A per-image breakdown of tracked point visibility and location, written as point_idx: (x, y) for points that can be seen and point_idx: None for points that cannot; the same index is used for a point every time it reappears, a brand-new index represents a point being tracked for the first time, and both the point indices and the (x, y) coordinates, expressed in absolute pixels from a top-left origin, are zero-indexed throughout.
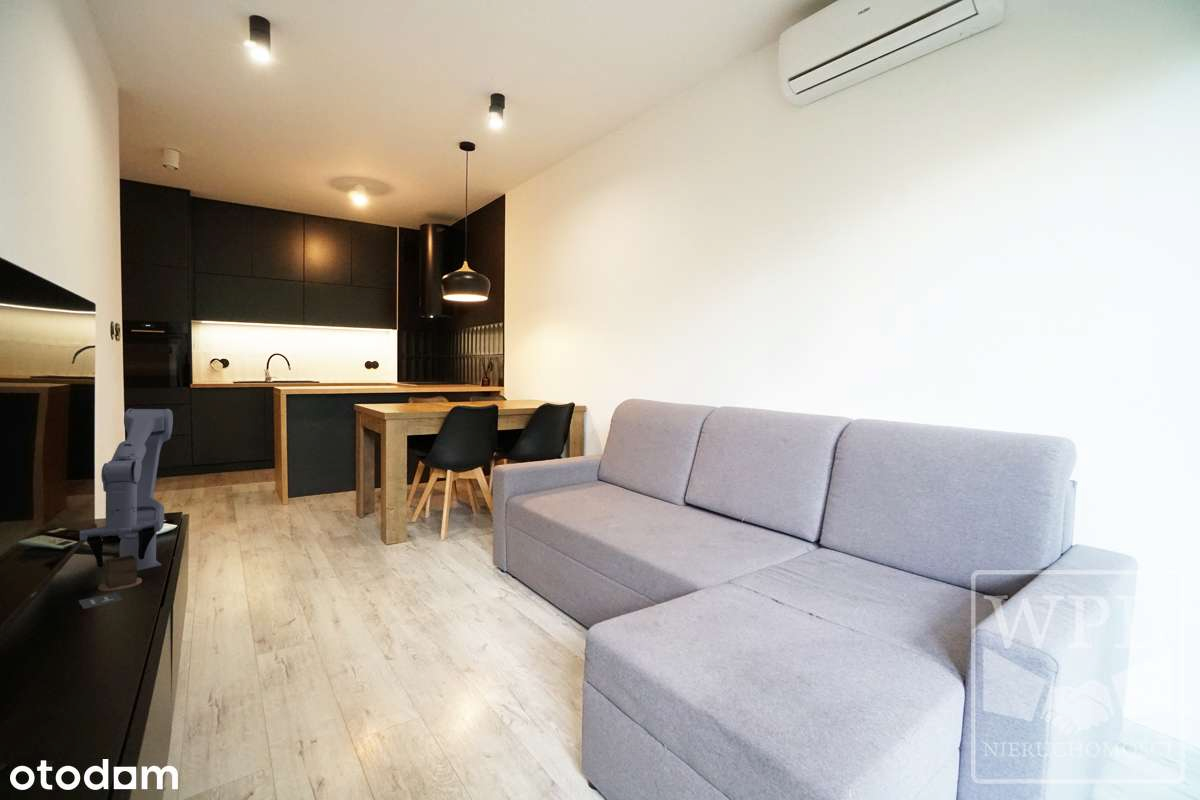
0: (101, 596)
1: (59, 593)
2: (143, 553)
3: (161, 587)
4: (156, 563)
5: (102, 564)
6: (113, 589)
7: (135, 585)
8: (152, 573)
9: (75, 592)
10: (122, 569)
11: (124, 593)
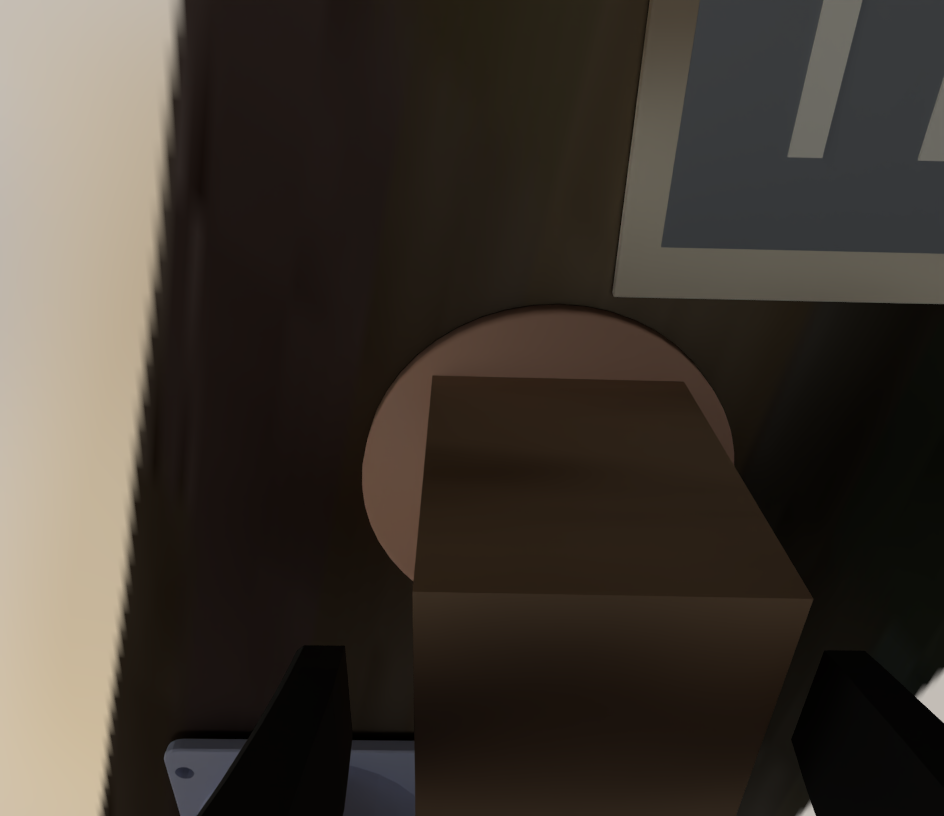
0: (816, 209)
1: (931, 607)
2: (282, 722)
3: (213, 43)
4: (195, 787)
5: (853, 678)
6: (659, 339)
7: (448, 339)
8: (250, 614)
9: (856, 550)
10: (601, 506)
11: (599, 163)
